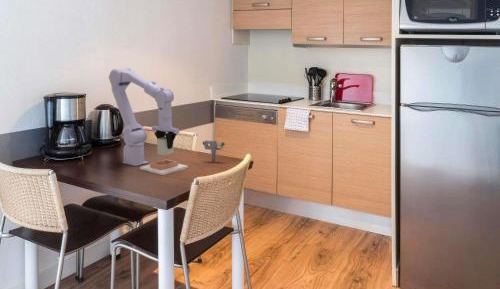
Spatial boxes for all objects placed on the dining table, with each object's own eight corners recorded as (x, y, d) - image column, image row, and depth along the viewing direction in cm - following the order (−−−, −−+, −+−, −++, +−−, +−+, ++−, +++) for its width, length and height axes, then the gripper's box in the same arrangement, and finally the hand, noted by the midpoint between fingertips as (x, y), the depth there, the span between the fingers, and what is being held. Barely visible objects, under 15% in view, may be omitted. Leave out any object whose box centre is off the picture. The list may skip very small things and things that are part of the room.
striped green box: (166, 151, 205) (166, 136, 204) (173, 152, 203) (173, 137, 202) (157, 154, 200) (157, 138, 199) (164, 155, 198) (163, 139, 197)
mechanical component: (223, 163, 212) (223, 142, 210) (202, 162, 214) (202, 141, 212) (225, 161, 215) (224, 141, 213) (204, 160, 217) (204, 140, 215)
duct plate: (139, 169, 201) (139, 163, 201) (165, 162, 213) (165, 156, 212) (162, 175, 192) (162, 168, 192) (187, 168, 204) (187, 162, 203)
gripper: (146, 117, 199) (147, 147, 202) (171, 120, 191) (172, 151, 194) (157, 115, 205) (158, 144, 208) (182, 118, 197) (183, 148, 200)
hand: (166, 147), depth 201 cm, fingers closed on striped green box, 4 cm apart
